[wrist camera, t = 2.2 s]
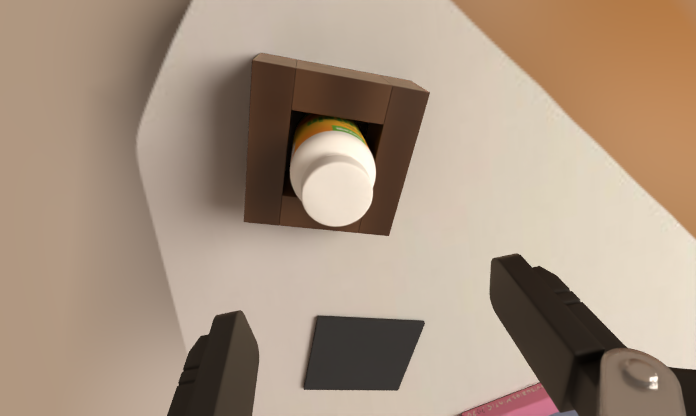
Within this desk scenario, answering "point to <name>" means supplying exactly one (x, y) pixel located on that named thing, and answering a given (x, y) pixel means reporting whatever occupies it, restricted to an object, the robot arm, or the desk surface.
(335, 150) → the supplement bottle
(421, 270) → the desk surface
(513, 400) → the trophy
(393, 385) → the mat
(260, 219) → the holder
